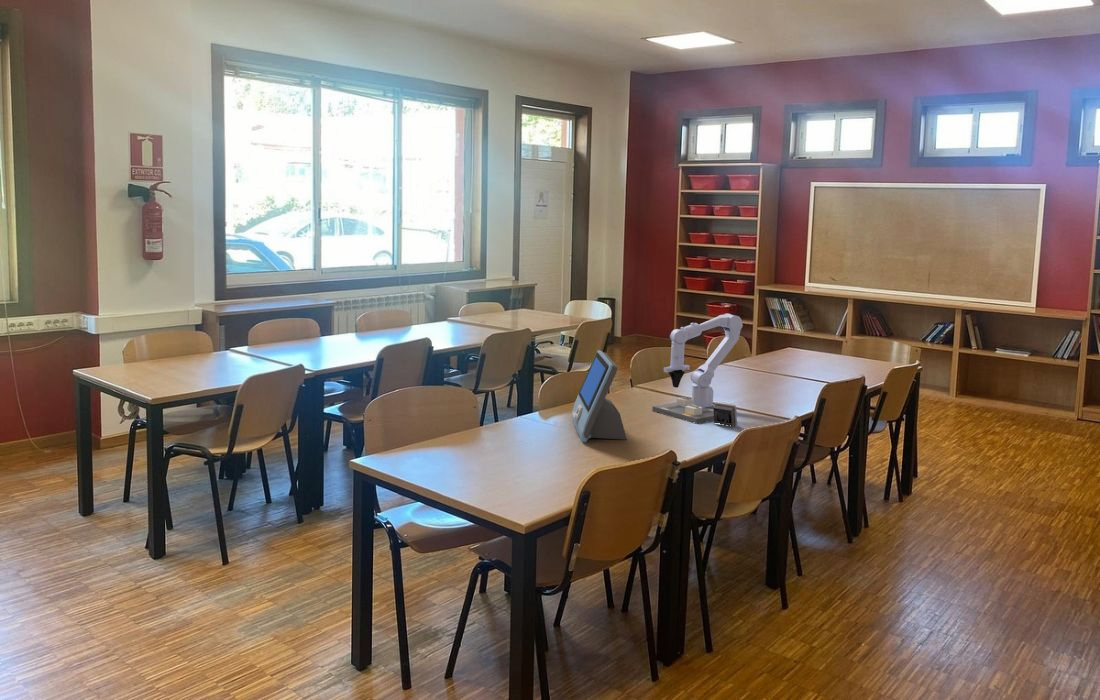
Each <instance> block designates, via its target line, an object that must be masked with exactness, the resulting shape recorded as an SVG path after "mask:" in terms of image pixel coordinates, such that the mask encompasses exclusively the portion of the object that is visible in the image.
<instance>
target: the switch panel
mask: <svg viewBox="0 0 1100 700" xmlns="http://www.w3.org/2000/svg"><path fill="white" fill-rule="evenodd" d="M699 407H700V406H699ZM652 410H653V411H652V412H655V411H656V413H658V412H659V414H662V413H663V414H662V415H665V414H666V416H669V415H670V416H669V417H672V416H673V417H672V418H676V417H677V418H676V419H679V418H680V419H679V420H682V419H684V420H683V421H686V420H687V422H689V421H691V422H690V423H693V422H695V423H694V424H696V423H697V424H700V423H699V422H702V423H705V422H704V421H708V422H711V421H710V420H713V421H714V412H713V409H710V408H709V407H705V408H704V407H702V414H701V415H695V416H693V415H689V414H685V407H682V406H678V405H677V402H672V403H666V404H658V405H652Z"/></svg>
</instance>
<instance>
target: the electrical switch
mask: <svg viewBox="0 0 1100 700" xmlns="http://www.w3.org/2000/svg"><path fill="white" fill-rule="evenodd" d="M713 405H714V406H713V407H712V408H713V409H712V410H713V412H714V420H713V424H714V423H720V424H724V423H725V425H731V426H732V427H735V426H734V425H736V426H737V425H738V414H737V412H738V411H737V405H736V404H732V403H731V404H730V403H724V402H718V401H715V402H713Z"/></svg>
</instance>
